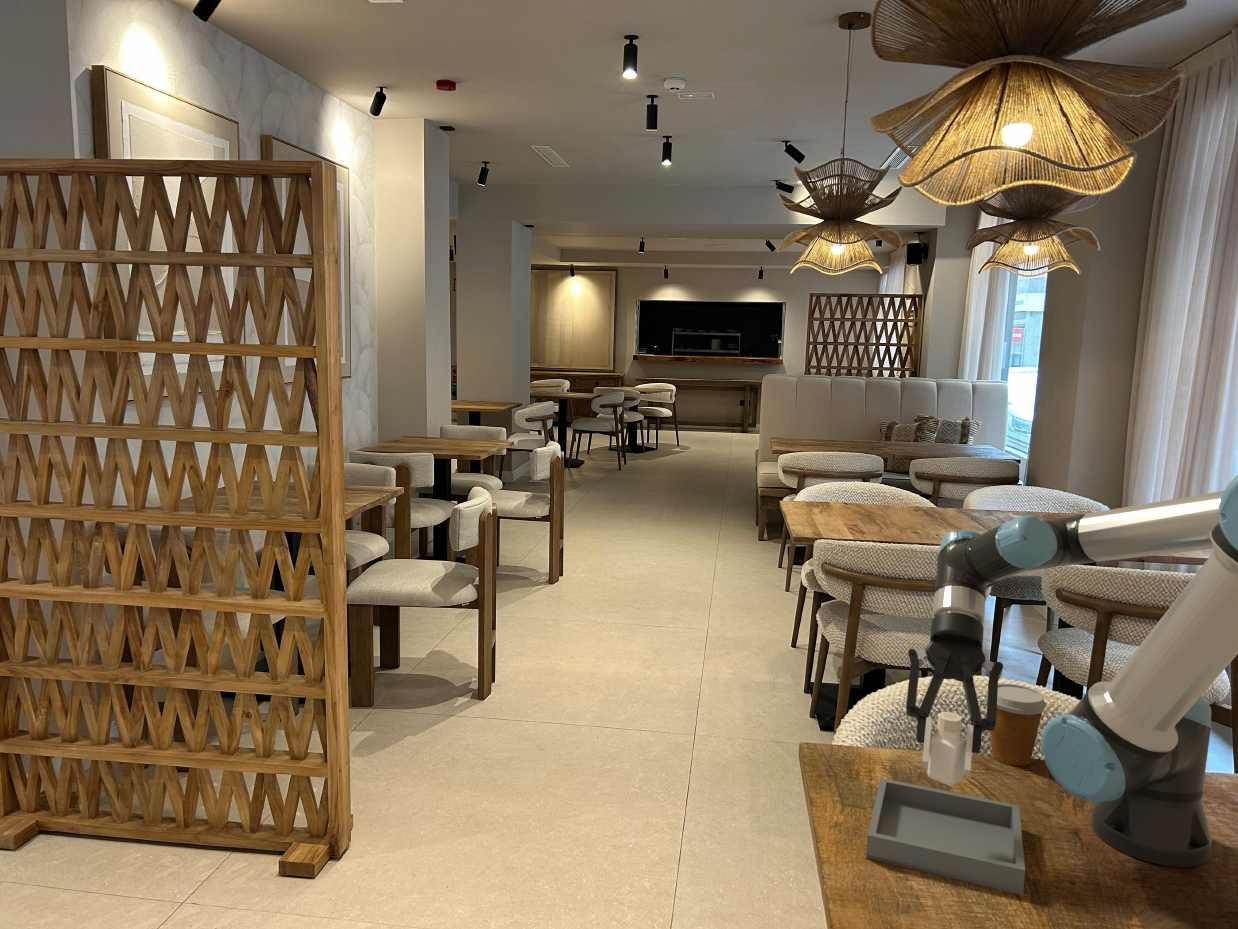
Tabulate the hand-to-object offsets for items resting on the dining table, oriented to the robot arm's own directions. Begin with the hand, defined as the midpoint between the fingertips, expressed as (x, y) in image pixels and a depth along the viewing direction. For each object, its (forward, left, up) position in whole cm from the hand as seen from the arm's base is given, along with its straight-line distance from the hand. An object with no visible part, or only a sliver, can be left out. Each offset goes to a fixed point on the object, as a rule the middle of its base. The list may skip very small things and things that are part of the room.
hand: (945, 768), depth 121 cm
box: (-1, -3, -13) cm, 13 cm away
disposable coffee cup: (-11, -37, -13) cm, 41 cm away
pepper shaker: (0, -4, -3) cm, 5 cm away
